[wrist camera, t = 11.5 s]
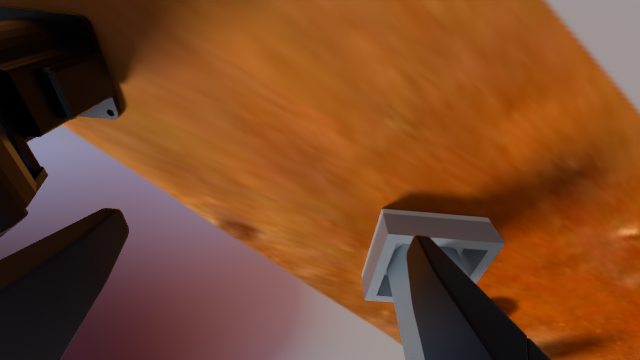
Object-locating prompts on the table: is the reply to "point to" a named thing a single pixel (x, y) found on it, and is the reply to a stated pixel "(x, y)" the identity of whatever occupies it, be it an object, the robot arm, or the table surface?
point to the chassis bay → (444, 229)
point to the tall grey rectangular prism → (409, 299)
